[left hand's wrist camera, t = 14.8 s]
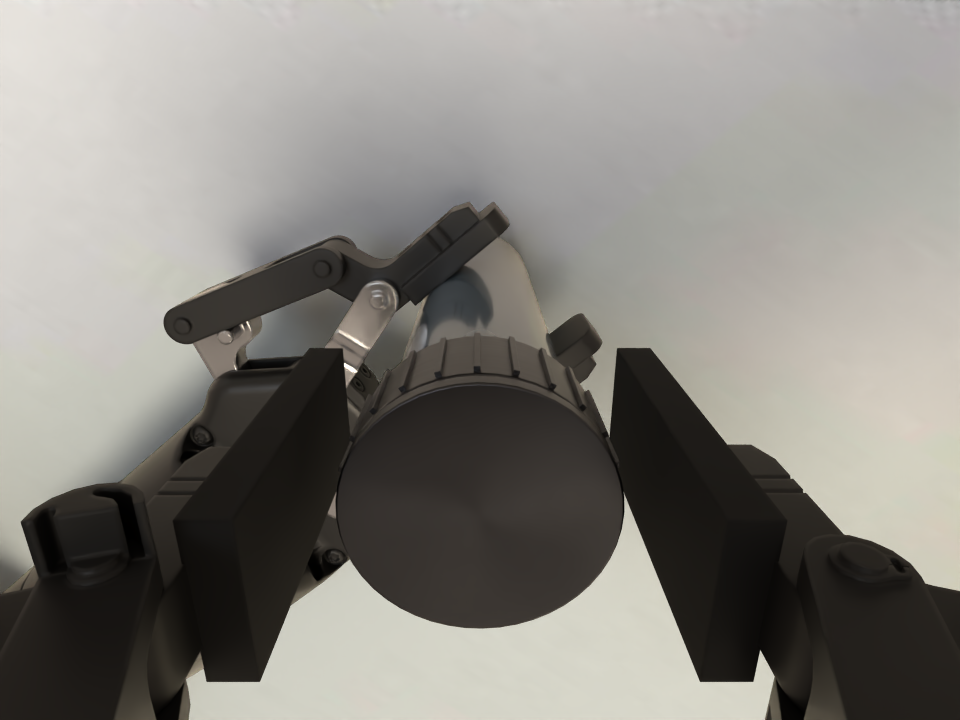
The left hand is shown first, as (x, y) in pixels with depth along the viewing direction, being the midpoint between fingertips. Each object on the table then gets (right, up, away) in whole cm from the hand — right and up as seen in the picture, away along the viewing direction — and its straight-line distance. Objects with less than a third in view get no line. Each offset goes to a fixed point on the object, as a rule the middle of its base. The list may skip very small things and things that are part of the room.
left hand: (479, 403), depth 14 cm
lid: (0, -1, -4) cm, 4 cm away
